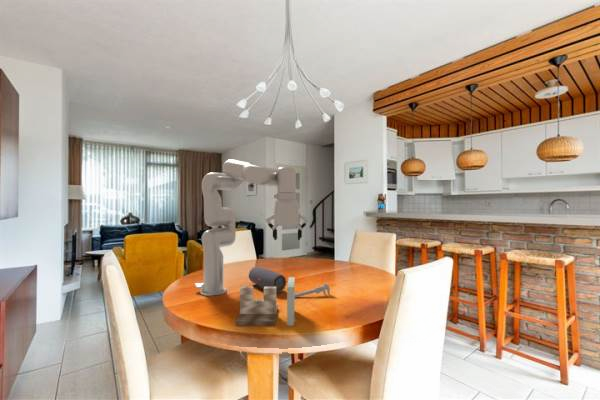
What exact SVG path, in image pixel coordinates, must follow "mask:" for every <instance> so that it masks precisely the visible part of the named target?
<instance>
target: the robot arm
mask: <svg viewBox="0 0 600 400" xmlns="http://www.w3.org/2000/svg"><path fill="white" fill-rule="evenodd" d="M222 170H223V172H209V173H206V174H205V175H204V176H203V178H202V180H201V192H202V195H203V196H202V197H203V212H204V213H203V214H204V216H203V217H204V224H205V225H207V226H208V227H221V228H211V229H208V230H205V231H204V232H203V233H202V235H201V244H202V249H203V282H202V283H195V289H200V291H199V293H200V295H202V296H205V297H206V296H209V297H214V295H215V296H220V295H224V294H225V293H226V292H227V287H225V286H224V254H223V251H222V250H221V248H224V247H229V246H232V245H233V244H234V243H235V241H236V235H237V234H236V233H237V231H236V230H237V229H236V215H235V211H234V210H233V209H232V208H230V207H226V206H224V207H223V205H222V197H221V194H220V193H219V192H218V191H219V190H220V191H235V190H236V189H237V190H238V188H240V186H242V184H243V183H245V182H247V183H250V184H254V185H258V186H268V187H277V193H276V194H274V195H273V199H276V200H275V202H274V203H275V204H274V209H273V210H274V212H273V213H274V214H273V215H272V216H270V217H267V218H266V219H265V222H266V223H267V225H268V227H269V228H270V229H271V231H272V238H273V240H274V241H276V240H278V229H277V228H278V227H279V226H281V227H282V226H283V227H284V226H296V227H297V229H298V230H297V240H298V241H300V240H301V238H303V235H302V233H303V231H302V230H303V229H304V227H306V226H307V223H308V221H309V218H307V217H305V216H304V215H301V214H300V207H299V202H298V200H297V181H296V180H297V177H296V176H297V174H296V173H297V172H296V169H295V168H294V166H293V167H292V166H280V167H278V168H274V167H273V168H272V167H267V166H259V165H255V164H254V163H253V162H248V161H244V160H238V159H228V160H226V161H225V162H224V163H223V164H222ZM272 220H273V223H274V224H272V222H271V221H272ZM300 220H303V223H302V224H300Z"/></svg>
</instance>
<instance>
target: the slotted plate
mask: <svg viewBox="0 0 600 400" xmlns="http://www.w3.org/2000/svg"><path fill="white" fill-rule="evenodd" d="M295 279H296V278H295V276H288V279H287V280H288V281H287V285H286V286H287V287H286V300H287V301H286V305H287V306H286V326H288V327H289V326H291V327H292V326H295V310H296V309H295V304H296V303H295V300H296V298H295V294H296V291H295V290H296V289H295V287H296V284H295V283H296V280H295Z"/></svg>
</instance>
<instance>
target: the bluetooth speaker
mask: <svg viewBox="0 0 600 400" xmlns="http://www.w3.org/2000/svg"><path fill="white" fill-rule="evenodd" d="M248 279H249V280H250V282H252V283H253V284H255V285H257V286H258V287H259V289H260V288H261V289H262V290H264V287H276V293H279V292H282V291H283V290H284V289H285V288H286V286H287V279H286V277H285V275H283V274H281V273H279V272H276V271H274V270H271V269H268V268H263V267H259V266H254V267H252V268H251V269H250V270H249V272H248Z"/></svg>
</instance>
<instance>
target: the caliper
mask: <svg viewBox="0 0 600 400" xmlns="http://www.w3.org/2000/svg"><path fill="white" fill-rule="evenodd" d="M330 290H331V288H330V286H329V284H328V283H327V282H326V283H323V285H321V286H316V287H314V288H313V289H308V290H305V291H301V292H297V293H295V299H296V298H300V297H304V296H307V295H310V294H314V293H315V294H316V295H317V294H320V293H321V292H322V293H323V295H324V296H327V295H328V296H330ZM326 292H327V293H326Z"/></svg>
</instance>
